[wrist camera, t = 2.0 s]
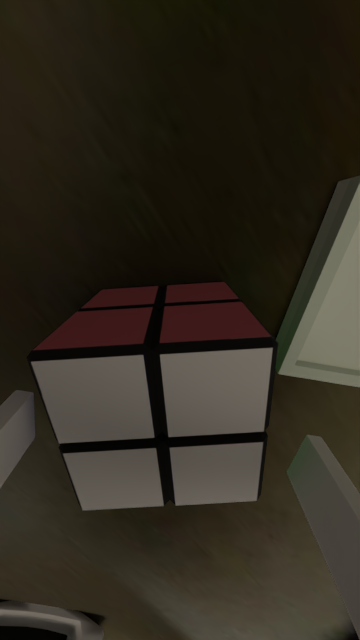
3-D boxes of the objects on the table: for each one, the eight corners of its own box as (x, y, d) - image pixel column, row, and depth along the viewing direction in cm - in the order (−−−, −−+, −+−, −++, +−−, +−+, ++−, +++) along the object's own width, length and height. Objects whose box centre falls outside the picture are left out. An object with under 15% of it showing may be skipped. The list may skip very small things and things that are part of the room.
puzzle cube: (98, 288, 18) (18, 354, 9) (227, 280, 18) (283, 338, 9) (119, 392, 22) (78, 515, 13) (225, 385, 22) (263, 504, 13)
